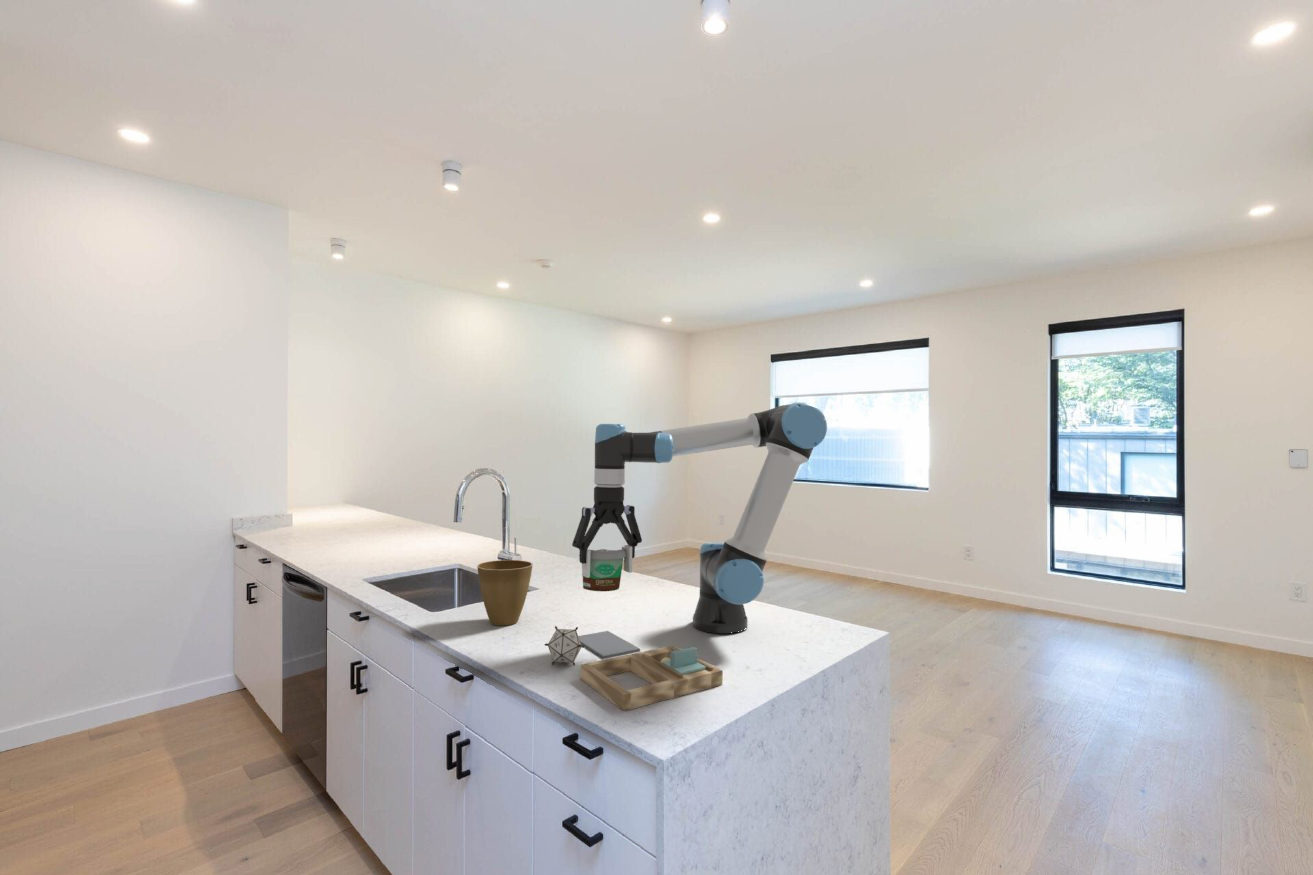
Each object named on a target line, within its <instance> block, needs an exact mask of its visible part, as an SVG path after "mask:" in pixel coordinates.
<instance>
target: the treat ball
mask: <svg viewBox="0 0 1313 875" xmlns="http://www.w3.org/2000/svg"><path fill="white" fill-rule="evenodd" d="M666 661H670V658H663V659H662V660H661V661H660V662H661V663H662V662H666Z"/></svg>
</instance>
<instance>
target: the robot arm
mask: <svg viewBox="0 0 1313 875" xmlns="http://www.w3.org/2000/svg"><path fill="white" fill-rule="evenodd" d="M821 410H822V409H820V408H819V407H817V406H816V405H814V404H812V403H810V402H802V401H798V402H793V403H790V404H782V405H778V406H776V407H773V408H771V409H768V410H764V411H759V412H754V413H749V415H748V416H747V417H745V418H738V419H737V418H736V419H730V420H723V421H719V422H717V421H716V422H711V423H704V424H699V425H698V424H697V425H691V426H685V427H677V428H671V429H664V430H658V431H657V430H655V431H651V432H628V431H627V428H626V425H625V424H623V423H600V424H598V425H597V426H596V427H595V435H594V436H595V437H594V474H593V475H594V476H593V478H594V479H593V482H594V485H596V486H594V487H593V502H594V504H593V507H586V506H583V507H582V509H581V517H580V520H579V523H578V526H577V529H576V531H575V535H574V538H573V540H572V544H571V545H572V547H574V548H575V549H578V550H579V554H580V557H579V556H578V557H579V560H578V561H579V563H580V564H581V576H582V577H583V576H584V577H587V578H589V577H590V554H591V550H592V549H589V547H590V545H591V544H592V542H593V541H594V538H595V537H596V535H597V533H598V532H599V530H600V528H601V527H603V525H608V524H614V525H615V526H617V529H618V530H619V532H620V534H621V536H622V537H623V539H624V541H625V542H626V544H624V545H623V547H624V550H625V552H626V557H624V558H623V571H624V572H626V573H629V574H630V573H633V559H635V556H636V552H635V550H636V547H638V544H641V543H642V542H643V539H642V535H641V532H640V529H639V525H638V522H637V518H636V515H635V513H636V512H635V511H636V510H635V509H636V508H635V506H634V505H630V504H627V505H624V500H625V487H624V486H623V485H625V475H626V474H625V472H626V470H625V467H626V466H625V464H626V463H646V464H647V463H650V464H651V463H656V464H663V463H670V462H671V461H672V459H673V457H679V456H683V455H685V456H686V455H693V454H699V453H705V452H712V451H719V450H726V449H733V448H737V447H744V446H752V447H754V448H756V449H757V448H764V447H766V449H767V452H768V453H767V455H766V457H765V459H764V462H763V464H762V467H761V470H760V472H759V473H758V474H759V475H758V476H757V478H756V481H755V484H754V487H753V489H752V491H751V493H750V495H749V498H748V500H747V503H746V505H745V507H744V510H743V512H742V514H741V517H740V519H739V522H738V525H737V527H736V529H735V531H734V534H733V536H732V537H731V538H728V539H725V540H724V542H704V543H703V544H701V547H700V551H699V552H700V553H699V597H698V601H697V604H696V608H695V610H694V613H693V615H692V626H693V627H694V628H695V629H697V630H699V631H701V632H702V631H703V632H704V633H705V632H706V633H710V632H713V633H712V634H718V633H731V632H738V631H741V630H744V629H745V628H747V629H748V617H747V615H746V614H747V613H746V610H745V604H750V603H751V602H753V601H754V600H756V599H757V598H758V597H759V595H760V594H761V592H762V590H763V587H764V584H765V583H764V574H763V570H764V569H765V566H766V563H767V562H768V558H767V555H766V552H765V550H766V547H767V545H768V542H769V540H770V537H771V535H772V533H773V530H774V529H775V526H776V523H777V522H778V518H779V516H780V513H781V512H782V509H783V506H784V504H785V501H786V499H787V497H788V495H789V493H790V490H791V487H792V485H793V482H794V479H795V478H796V475H797V473H798V470H799V468H800V465H802V464H804V463H807V462H808V461H809V459H810V457H811V455H812V453H813V450H814V448H816V447H817V446H819V445H820V444H821V443H822V442H823V441H824V440H825V438H826V436H827V435H826V434H827V432H828V423H827V420H826V417H825V415H824V413H823V411H821ZM624 514H625V517H626V521H627V524H628V526H627V525H626V523H625V520H624V518H623V516H622V515H624ZM593 515H594V518H592V521H591V517H593ZM590 522H591V525H590V527H589V524H590ZM588 527H589V528H588ZM744 631H745V630H744ZM738 633H739V632H738ZM731 634H732V633H731Z"/></svg>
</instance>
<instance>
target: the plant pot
mask: <svg viewBox="0 0 1313 875" xmlns="http://www.w3.org/2000/svg"><path fill="white" fill-rule="evenodd" d="M476 567H477V574H478V581H479V586H480V593H481V597H482V601H483V605H484V608H485V609H484V610H485V611H486V614H487V618H488V620H489V623H490V624H491V625H493V626H499V627H502V626H503V627H504V626H511V625H514V624H517V623H518V622H519V620H520V617H521V614H522V612H523V608H524V606H525V602H526V598H527V596H528V592H529V587H530V583H531V578H532V571H533V563H532V562H531V561H527V560H520V559H502V560H501V559H499V560H491V561H483V562H481V563H480V562H479V564H477V566H476Z"/></svg>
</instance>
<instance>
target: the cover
mask: <svg viewBox="0 0 1313 875" xmlns="http://www.w3.org/2000/svg"><path fill="white" fill-rule="evenodd" d="M680 649H681V650H676V651H671V656H670V661H666V662H662V663H663V664H664V665H666V666H668V667H670V668H671V669H673V670H675V671H677V672H679V673H680V674H682V675H684V674H688V673H692V672H696V671H700V670H704V669H706V666H704V665H702V664H700V663H698V662H697V658H698V653H699V652H698V648H697V647H695V646H690V647H686V648H680Z"/></svg>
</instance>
